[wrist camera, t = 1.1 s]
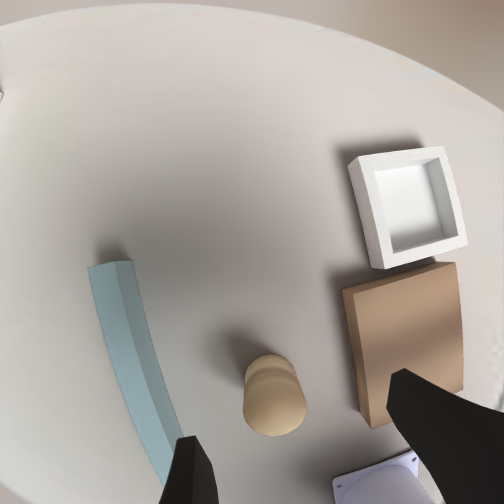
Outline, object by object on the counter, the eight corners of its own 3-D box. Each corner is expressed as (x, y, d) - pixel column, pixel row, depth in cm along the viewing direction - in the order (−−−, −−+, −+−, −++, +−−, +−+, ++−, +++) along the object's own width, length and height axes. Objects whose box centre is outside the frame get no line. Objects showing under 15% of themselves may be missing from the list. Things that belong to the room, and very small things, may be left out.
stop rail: (199, 474, 20) (193, 497, 17) (176, 475, 20) (169, 497, 17) (132, 260, 20) (114, 261, 17) (107, 266, 20) (87, 267, 17)
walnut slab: (443, 377, 21) (462, 389, 18) (358, 410, 21) (371, 429, 18) (433, 261, 21) (455, 262, 18) (339, 288, 21) (352, 294, 18)
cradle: (449, 245, 20) (467, 244, 18) (371, 267, 20) (384, 269, 18) (427, 154, 21) (443, 145, 18) (347, 166, 21) (357, 156, 18)
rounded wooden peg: (299, 393, 20) (311, 427, 15) (251, 403, 20) (250, 440, 15) (290, 349, 20) (301, 376, 15) (239, 360, 20) (236, 390, 15)
